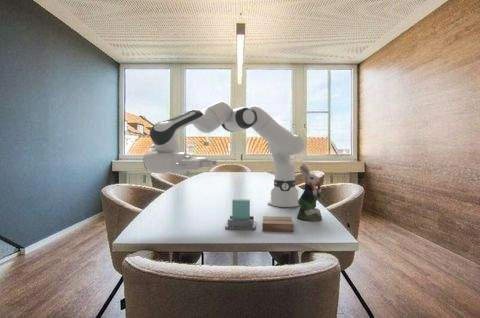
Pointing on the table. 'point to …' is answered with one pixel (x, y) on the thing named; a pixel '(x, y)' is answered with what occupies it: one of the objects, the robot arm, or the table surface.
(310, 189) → the figurine
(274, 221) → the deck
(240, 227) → the rack
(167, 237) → the table surface
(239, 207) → the sign block
